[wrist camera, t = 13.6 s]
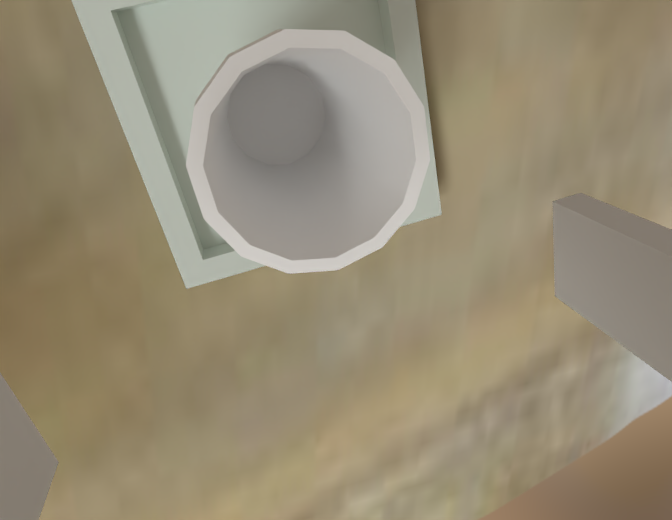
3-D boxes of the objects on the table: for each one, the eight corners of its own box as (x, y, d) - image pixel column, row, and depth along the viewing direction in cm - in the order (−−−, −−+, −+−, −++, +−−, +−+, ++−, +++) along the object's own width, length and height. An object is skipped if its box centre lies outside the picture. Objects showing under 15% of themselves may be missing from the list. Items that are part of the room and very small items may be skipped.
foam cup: (202, 190, 32) (196, 280, 20) (188, 29, 28) (171, 25, 16) (348, 185, 34) (419, 264, 22) (353, 34, 30) (442, 33, 18)
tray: (188, 269, 35) (186, 289, 32) (78, -13, 27) (64, -19, 24) (425, 201, 37) (441, 214, 34) (386, -80, 29) (404, -92, 26)
